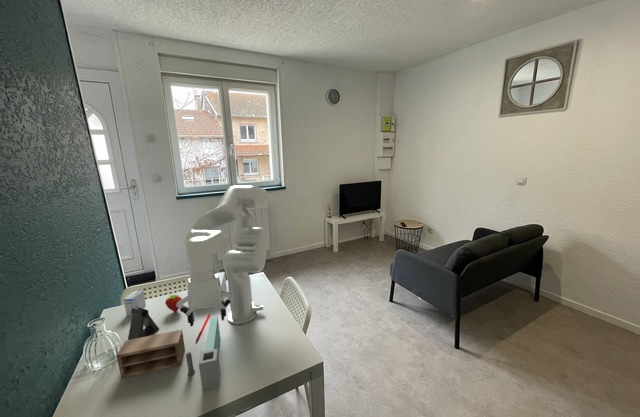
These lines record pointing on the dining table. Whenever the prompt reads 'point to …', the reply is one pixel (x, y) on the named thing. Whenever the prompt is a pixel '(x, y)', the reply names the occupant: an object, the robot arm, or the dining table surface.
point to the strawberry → (173, 302)
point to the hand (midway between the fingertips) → (208, 321)
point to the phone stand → (141, 324)
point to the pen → (202, 328)
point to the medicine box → (134, 301)
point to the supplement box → (222, 281)
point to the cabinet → (153, 354)
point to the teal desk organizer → (211, 358)
